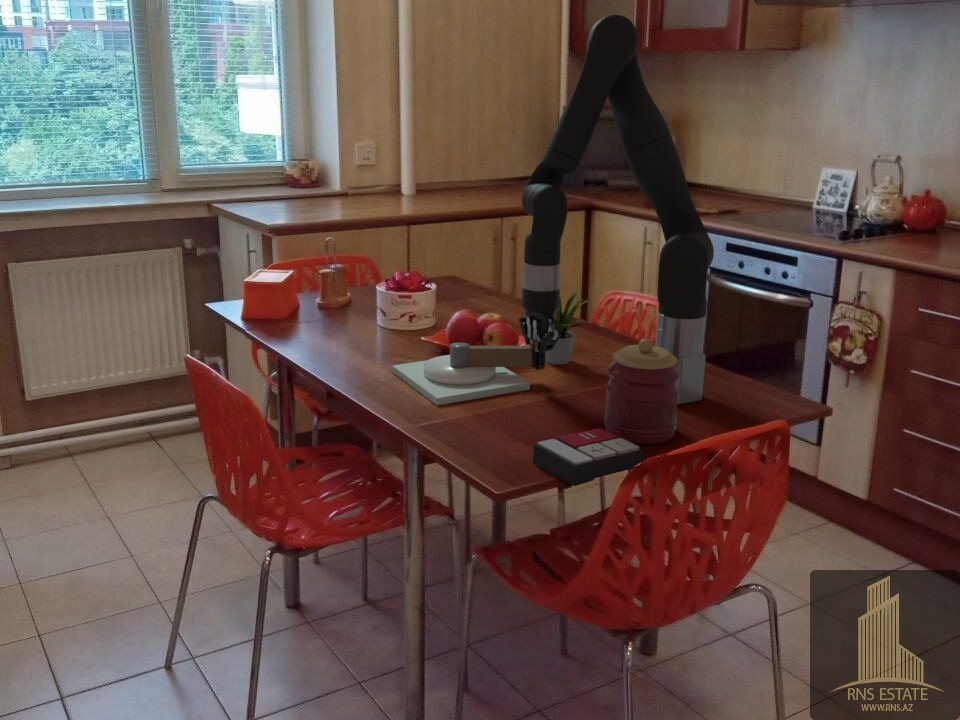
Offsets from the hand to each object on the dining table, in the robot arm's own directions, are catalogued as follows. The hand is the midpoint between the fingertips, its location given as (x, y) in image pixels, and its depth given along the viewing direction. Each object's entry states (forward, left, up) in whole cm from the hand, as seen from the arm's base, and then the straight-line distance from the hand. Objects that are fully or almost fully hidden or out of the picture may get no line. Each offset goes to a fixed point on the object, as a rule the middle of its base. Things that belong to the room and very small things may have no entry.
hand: (538, 368), depth 191 cm
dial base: (+12, +12, -4) cm, 17 cm away
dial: (+10, +8, -3) cm, 13 cm away
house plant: (+14, -15, -5) cm, 21 cm away
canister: (-27, -5, -5) cm, 28 cm away
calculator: (-35, +11, -5) cm, 37 cm away
